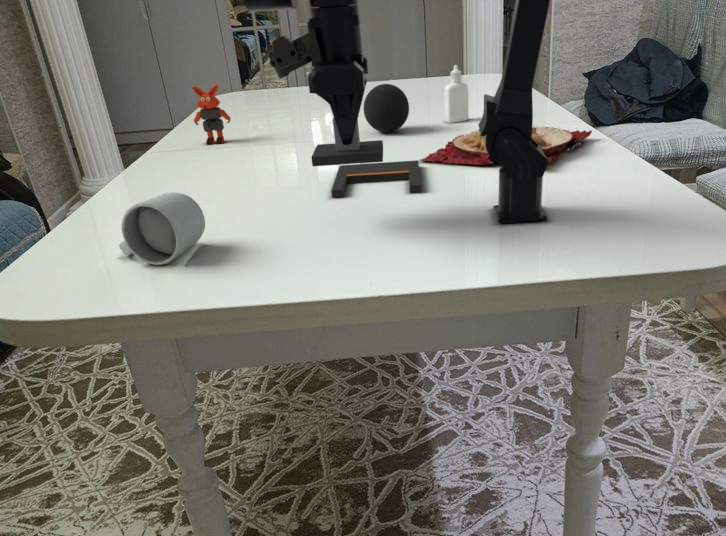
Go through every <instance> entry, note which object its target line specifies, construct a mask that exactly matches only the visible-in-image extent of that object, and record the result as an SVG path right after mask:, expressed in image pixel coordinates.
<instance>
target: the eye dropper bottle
mask: <svg viewBox="0 0 726 536" xmlns="http://www.w3.org/2000/svg"><path fill="white" fill-rule="evenodd" d="M443 95H444V96H443V97H444V98H443V100H444V121H445V122H446V123H450V124H453V123H462V122H465V121H468V119H469V86H468V84H467V83H465V82H464V81H463V82H462V71H461V70H459V67H458V64H454V65H453V70H451V71H450V83H448V84H447V85H445V87H444V89H443Z"/></svg>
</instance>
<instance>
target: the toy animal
mask: <svg viewBox="0 0 726 536" xmlns="http://www.w3.org/2000/svg"><path fill="white" fill-rule="evenodd" d="M219 87H220V85H219V84H217V83H216V84H214V85H213V86H211V88H210V89H209V90H208V92H205V91H204V90H203V89H202V88H201V87H198V86H197V85H194V86H192V87H191V89H192V90H193V91H194V93H195V94H196V95H197V96H198V97H199V99H198V101H197V103H196V105H197V107H198V108H199V109H200V110H199V111H196V114H195V117H194V118H193V122H194V124H195V125H196V126H199V125H200V124H199V123H198V122H200V120H202V127H203V131H204V132H205V133H207V134H206V135H207V138H206V141H205V144H206V145H208V146H209V145H213V144H214V145H215V144H216V145H219V144H220V145H221V144H224V143H225V142H226V141H225V138H224V133H223V130H224V129H225V126H224V125H225V124H224V121H223V119H225V120H227V121H226V123H227V124H229V123H230V122H231V116H230V115H229V114H228V113H227V112H226V111H225V110H224V109H222V108H221V107H219V105H220V104H221V101H220V100H219V99H218V98H217V97H216V96H215V95H216V94H217V92H218V91H219V90H218V89H219ZM222 118H223V119H222ZM214 131H215V132H216V135H217V137H216V139H215V136H214Z"/></svg>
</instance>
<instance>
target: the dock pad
mask: <svg viewBox="0 0 726 536" xmlns="http://www.w3.org/2000/svg"><path fill="white" fill-rule="evenodd" d="M338 166H339V167H338V169H337V172H336V175H335V178H334V182H333V184H332V187H331V197H332V198H333V199H334V198H344V197H345V193H346V190H347V185H348V184H358V183H359V184H361V183H374V182H376V183H377V182H390V181H391V182H392V181H406V180H408V184H409V186H408V187H409V193H410V194H415V193H422V181H421V173H420V165H419V160H416V159H415V160H404V161H385V162H372V163H357V164H342V165H338Z"/></svg>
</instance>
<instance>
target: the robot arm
mask: <svg viewBox="0 0 726 536" xmlns="http://www.w3.org/2000/svg"><path fill="white" fill-rule="evenodd" d="M242 1H243V3H244V6H245V9H246V10H247V11H248V12H249V13H258V12H273V11H286V10H297V8H298V5H299V0H242ZM308 1H309V10H310V18H309V19H308V21H307V22H306V23H307V24H306V25H307V33H305V34H303V35H301V36H299V37H297V38H295V39H293V40H292V39H290V38H289V37H288V36H287V35H285V34H283V35H281V36H279V37H277V38H275V39H274V40H272V41H271V51H270V52H267V53H266V54H267V57H268V58H269V66H270V67H272V68H273V69H274V71H275V73H276V75H277V77H278V79H279V80H281V79H284V78H285V77H288V76H289V75H290V74H291V73H292V72H294V71H296V70H298V69H300V68H302V67H304V66H305V65H308V64H310V63H311V68H312V69H311V70H310V72H309V73H308V74H307V82H308V91H309V94H313V95H314V94H315V95H317V96H318V97H319V98H321V99H322V100H324V101H325V102H326V103H327V104H328V105H329V108H330V110H331V113H332V117H333V118H334V119H335V122H336V125H337V128H338V131H339V134H340V137H341V140H342V143H343V145H350V144H351V143H352V139H353V135H354V131H355V127H356V123H357V119H358V120H359V115H360V111H361V107H362V102H363V99H364V95H365V90H366V87H367V84H368V83H367V82H368V78H365V75H368V74H369V63H368V62H369V61H368V56H367V55H366V54H365V53H364V50H363V45H362V33H361V13H360V11H359V0H308ZM550 2H551V0H515V1H514V9H513V14H512V19H511V23H510V24H511V25H510V30H509V36H508V42H507V46H506V53H505V58H504V64H503V67H502V68H503V69H502V74H501V79H500V82H499V84H498V88H497V89H496V91H495V94H494V96H493V95H490V94H488V93H484V94H483V113H482V116H481V120H480V121H479V123H478V130H479V129H480V133H481V136H483V138H484V142H485V146H486V150H487V153H488V154H489V155H490V156H489V158H490V159H491V160H492V161H494V162H496V163H498V164H500V166H501V167H500V168H499V169H498V204H495V205H493V206H492V210H493V213H494V215H495V217H496V220H497V222H498V223H500V224H510V223H523V222H524V223H526V222H541V221H547V220H548V218H549V216H548V214H547V213H546V210H545V209H544V208H543V206H542V202H543V201H542V200H543V181H544V179H543V178H544V175H545V172H546V170H547V168H548V165H549V163H548V159H547V158H546V156H545V154H544V153H543V151H542V149H541V147H540V146H539V145H538V144H537V143H536V142H535V141H534V140H533V139H532V126H533V122H534V121H533V120H534V113H533V112H534V110H533V107H534V106H533V87H534V86H533V85H534V80H535V77H536V76H535V75H536V71H537V66H538V62H539V56H540V52H541V47H542V41H543V36H544V33H545V27H546V23H547V18H548V12H549V8H550Z"/></svg>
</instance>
